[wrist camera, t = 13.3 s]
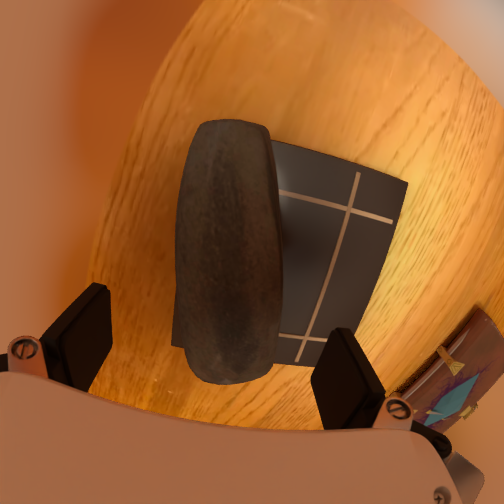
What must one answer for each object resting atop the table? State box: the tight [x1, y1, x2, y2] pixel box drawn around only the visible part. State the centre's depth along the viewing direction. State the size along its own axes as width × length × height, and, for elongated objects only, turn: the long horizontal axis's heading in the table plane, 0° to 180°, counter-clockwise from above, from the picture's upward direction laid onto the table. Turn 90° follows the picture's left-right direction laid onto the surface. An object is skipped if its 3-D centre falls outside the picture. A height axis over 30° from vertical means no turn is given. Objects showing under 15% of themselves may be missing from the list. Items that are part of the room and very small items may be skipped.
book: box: [390, 309, 504, 434], centre depth 24 cm, size 16×25×5 cm, turn 145°
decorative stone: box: [175, 119, 283, 385], centre depth 16 cm, size 17×6×4 cm, turn 179°
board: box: [171, 140, 408, 367], centre depth 19 cm, size 14×16×1 cm
